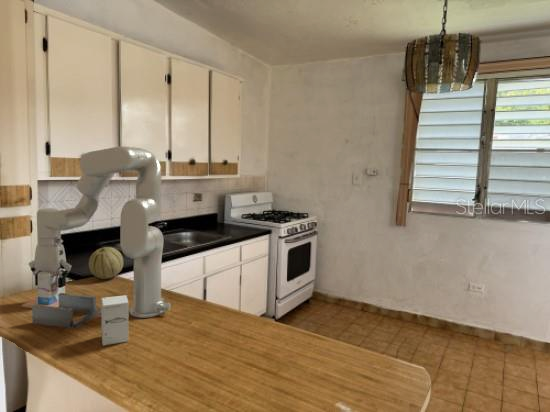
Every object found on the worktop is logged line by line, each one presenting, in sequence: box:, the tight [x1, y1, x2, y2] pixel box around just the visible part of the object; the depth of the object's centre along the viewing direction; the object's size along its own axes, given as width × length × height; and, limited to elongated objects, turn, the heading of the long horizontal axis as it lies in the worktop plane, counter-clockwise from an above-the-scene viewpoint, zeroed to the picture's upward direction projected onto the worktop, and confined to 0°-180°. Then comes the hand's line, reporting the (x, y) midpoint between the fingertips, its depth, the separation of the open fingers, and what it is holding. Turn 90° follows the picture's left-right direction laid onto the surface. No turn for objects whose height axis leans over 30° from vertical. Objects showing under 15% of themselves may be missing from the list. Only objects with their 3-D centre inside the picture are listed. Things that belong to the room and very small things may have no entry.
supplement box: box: [100, 294, 130, 347], centre depth 113 cm, size 7×7×13 cm
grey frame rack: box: [31, 292, 101, 329], centre depth 127 cm, size 16×13×6 cm
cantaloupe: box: [88, 246, 124, 280], centre depth 171 cm, size 15×15×15 cm
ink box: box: [37, 269, 66, 305], centre depth 139 cm, size 9×5×12 cm, turn 171°
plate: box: [21, 297, 59, 309], centre depth 140 cm, size 13×13×1 cm
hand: (50, 285), depth 139 cm, fingers open, 9 cm apart
